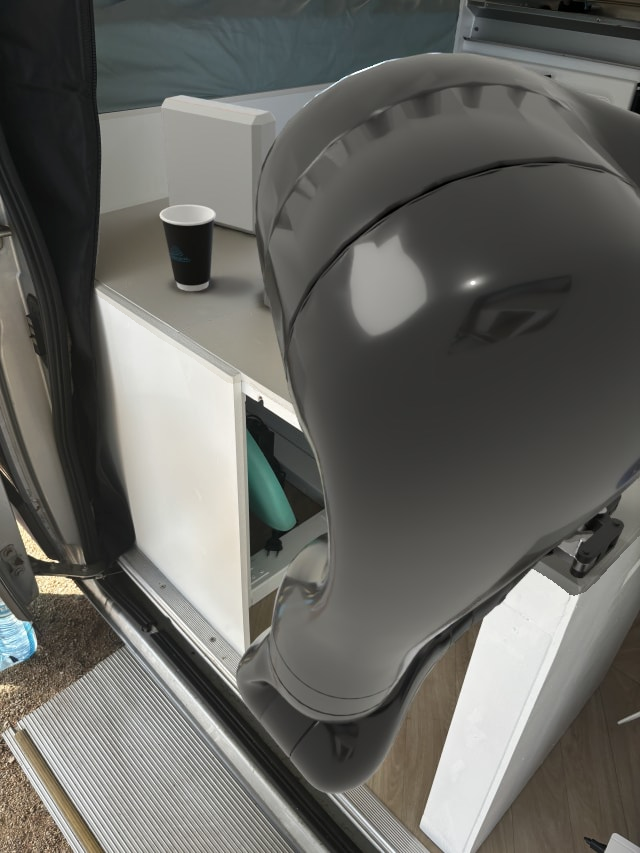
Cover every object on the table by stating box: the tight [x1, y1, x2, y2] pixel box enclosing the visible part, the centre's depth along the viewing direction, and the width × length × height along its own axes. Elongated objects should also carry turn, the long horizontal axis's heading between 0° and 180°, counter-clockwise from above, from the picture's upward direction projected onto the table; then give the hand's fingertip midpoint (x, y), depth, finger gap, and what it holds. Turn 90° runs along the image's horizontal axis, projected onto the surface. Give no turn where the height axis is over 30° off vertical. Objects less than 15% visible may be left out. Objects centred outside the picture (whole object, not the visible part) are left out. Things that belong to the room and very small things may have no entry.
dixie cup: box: [159, 205, 216, 292], centre depth 97 cm, size 8×8×11 cm
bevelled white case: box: [160, 94, 277, 236], centre depth 118 cm, size 21×8×20 cm, turn 60°
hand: (568, 468), depth 60 cm, fingers open, 8 cm apart
